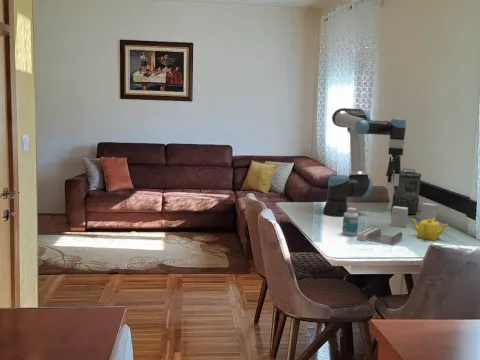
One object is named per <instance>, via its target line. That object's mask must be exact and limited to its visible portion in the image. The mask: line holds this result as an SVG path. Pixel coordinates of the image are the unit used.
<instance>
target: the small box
mask: <svg viewBox="0 0 480 360" xmlns="http://www.w3.org/2000/svg"><path fill="white" fill-rule="evenodd" d="M408 215H409V214H408V208H407V207H398V206H394V207H392V206H391V220H390V226H391V227H397V228H398V227H399V228H407V225H408V224H407V223H408Z"/></svg>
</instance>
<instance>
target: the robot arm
mask: <svg viewBox="0 0 480 360" xmlns="http://www.w3.org/2000/svg"><path fill="white" fill-rule="evenodd" d="M331 120H332V121H331V122H332V123H333V125H334V126H336V127H339V128H346V130H347V131H346V132H347V133H348V134H349V139H350V140H349V143H350V147H349V148H350V150H349V151H350V173H349V174H348V175H346V174H337V175H331V176H330V177H329V178H328V183H327V195H326V196H327V197H326V201H325V204H324V207H323V210H322V214H324V215H326V216H332V217H343V218H344V213H345V212H347V208H349V207H348V202H347V201H348V200H347V199H348V198H361V199H362V198H368V196H370V195H371V193H372V190H373V186H374V185H373V184H374V183H373V180H372V179H371V178H369V174H368V173H367V172H366V146H365V145H366V143H365V142H366V141H365V135H377V136H378V135H380V136H389V141H388V155H391V156H390V157H389V162H388V165H387V170H386V173H385V176H387V177H386V189H393V187H394V186H398V183H399V174H401V171H402V169H401V157H402V156H403V155H404V148H405V147H404V145H405V144H406V142H405V136H406V130H407V129H406V127H407V125H406V124H407V120H406V119H405V118H401V117H399V118H398V117H392V118H391V120H373V119H372V120H371V116H370V113H369V111H367V109H362V108H347V107H345V108H339V109H336V110H335V111H334V112H333V114H332V116H331Z"/></svg>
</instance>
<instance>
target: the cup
mask: <svg viewBox="0 0 480 360" xmlns="http://www.w3.org/2000/svg"><path fill="white" fill-rule="evenodd" d="M421 205H422V206H421V213H420V222H421V221H422V220H427V219H433V218H435V220H434V221H435V222H437V211H438V204H436V203H433V202H432V203H431V202H422V203H421Z"/></svg>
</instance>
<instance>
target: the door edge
mask: <svg viewBox="0 0 480 360" xmlns="http://www.w3.org/2000/svg"><path fill="white" fill-rule="evenodd" d="M377 229H380V228H379V227H376V226H373V227H372V226H371V227H369V228H367V229H365V230H362V231H360V232H359V233H358V232H357V235H356V240H357V241H362V242H366V241H369V235H370V233H371V232H373V231H375V230H377Z"/></svg>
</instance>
